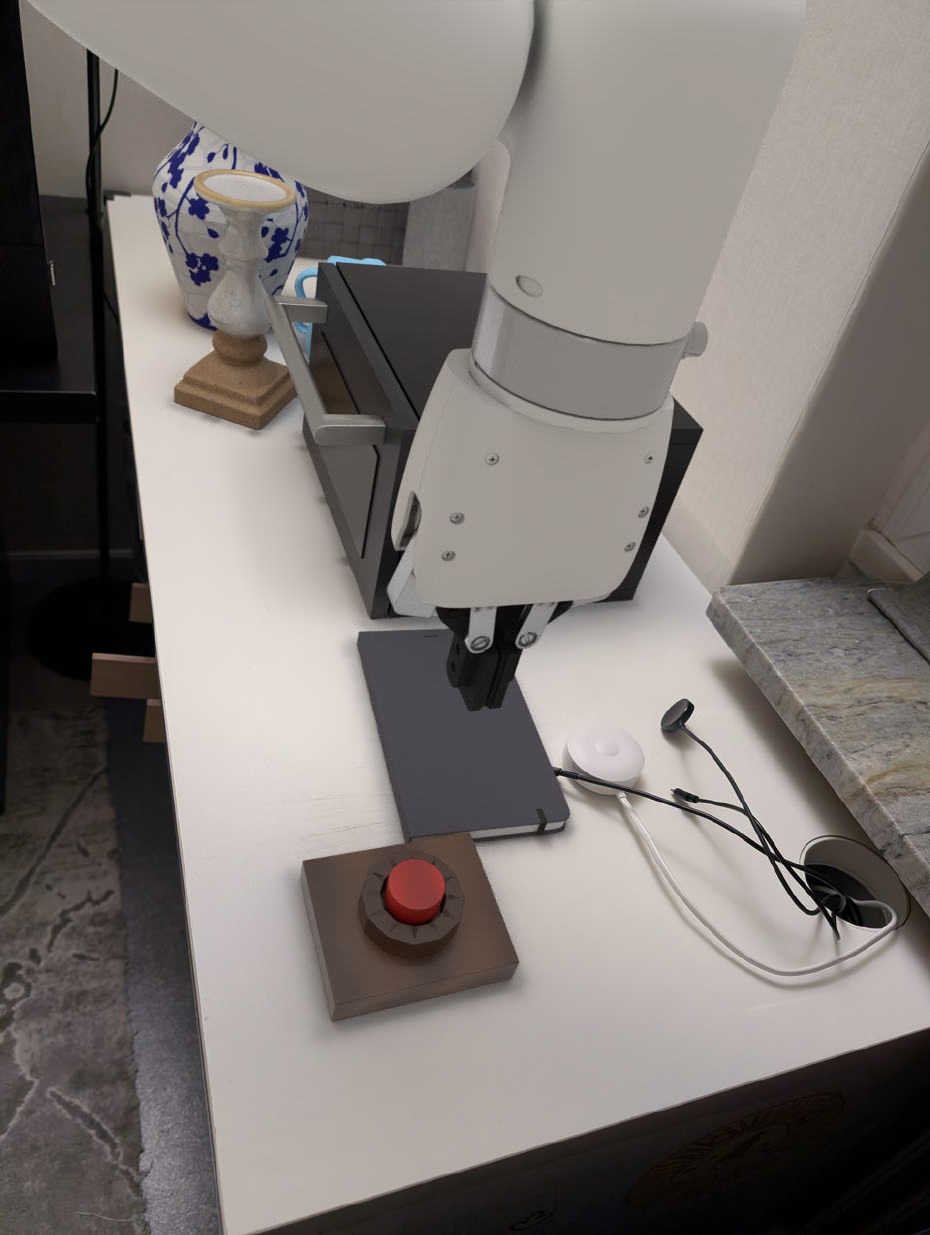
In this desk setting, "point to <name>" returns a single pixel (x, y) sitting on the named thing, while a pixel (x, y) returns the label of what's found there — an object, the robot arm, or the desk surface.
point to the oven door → (349, 424)
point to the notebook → (455, 746)
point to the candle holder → (240, 307)
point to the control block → (403, 928)
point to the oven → (444, 321)
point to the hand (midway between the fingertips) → (474, 688)
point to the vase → (217, 220)
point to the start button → (414, 891)
